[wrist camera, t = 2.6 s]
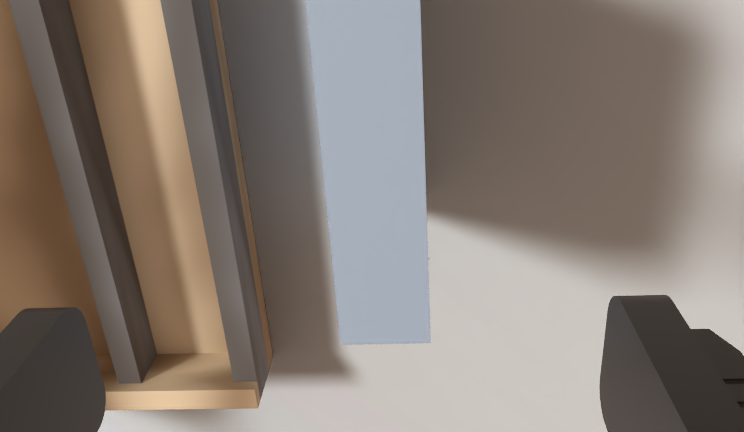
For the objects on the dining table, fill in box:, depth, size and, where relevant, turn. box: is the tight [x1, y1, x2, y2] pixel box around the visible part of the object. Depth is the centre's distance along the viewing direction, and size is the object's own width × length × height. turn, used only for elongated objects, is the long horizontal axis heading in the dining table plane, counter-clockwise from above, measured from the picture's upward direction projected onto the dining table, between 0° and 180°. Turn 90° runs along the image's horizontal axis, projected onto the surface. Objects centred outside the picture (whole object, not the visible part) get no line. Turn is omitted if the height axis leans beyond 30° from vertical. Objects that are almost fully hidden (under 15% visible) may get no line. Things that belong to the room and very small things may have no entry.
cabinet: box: [0, 0, 273, 410], centre depth 23 cm, size 14×20×10 cm
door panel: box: [305, 0, 431, 345], centre depth 21 cm, size 2×10×10 cm, turn 3°
